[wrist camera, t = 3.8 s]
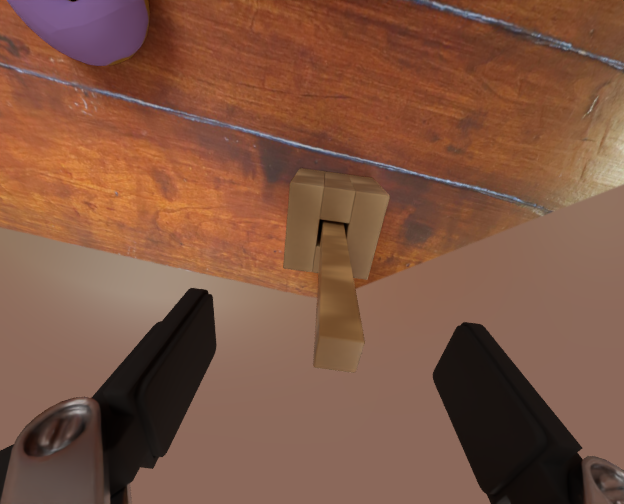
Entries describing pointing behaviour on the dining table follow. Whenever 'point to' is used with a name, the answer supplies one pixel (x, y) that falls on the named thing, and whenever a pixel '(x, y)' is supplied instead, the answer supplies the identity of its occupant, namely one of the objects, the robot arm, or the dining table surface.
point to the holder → (333, 218)
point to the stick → (336, 304)
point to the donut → (88, 27)
